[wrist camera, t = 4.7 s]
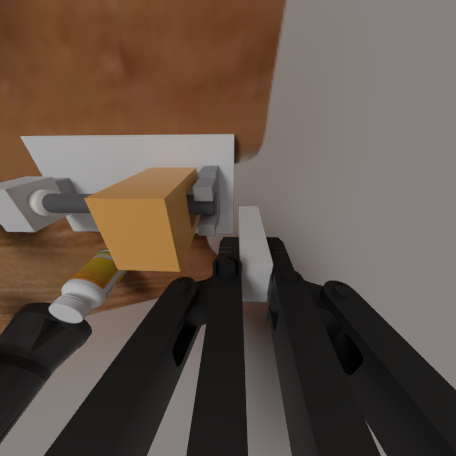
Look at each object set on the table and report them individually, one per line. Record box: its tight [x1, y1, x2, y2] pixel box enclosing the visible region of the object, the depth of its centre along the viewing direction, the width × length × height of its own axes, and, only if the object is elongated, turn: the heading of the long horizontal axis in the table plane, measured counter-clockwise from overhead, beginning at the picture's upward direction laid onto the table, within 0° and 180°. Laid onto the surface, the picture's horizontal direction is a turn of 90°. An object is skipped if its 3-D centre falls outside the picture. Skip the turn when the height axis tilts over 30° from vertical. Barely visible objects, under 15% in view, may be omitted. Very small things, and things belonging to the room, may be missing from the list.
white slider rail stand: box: [0, 134, 234, 236], centre depth 19 cm, size 12×23×8 cm, turn 90°
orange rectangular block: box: [84, 167, 201, 272], centre depth 16 cm, size 6×5×9 cm
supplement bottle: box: [49, 250, 128, 323], centre depth 25 cm, size 5×5×10 cm
